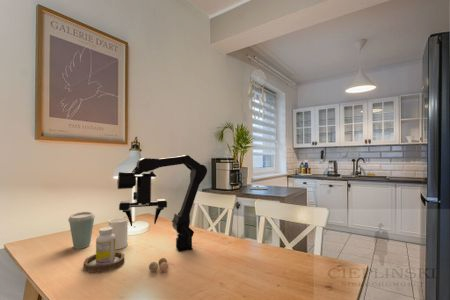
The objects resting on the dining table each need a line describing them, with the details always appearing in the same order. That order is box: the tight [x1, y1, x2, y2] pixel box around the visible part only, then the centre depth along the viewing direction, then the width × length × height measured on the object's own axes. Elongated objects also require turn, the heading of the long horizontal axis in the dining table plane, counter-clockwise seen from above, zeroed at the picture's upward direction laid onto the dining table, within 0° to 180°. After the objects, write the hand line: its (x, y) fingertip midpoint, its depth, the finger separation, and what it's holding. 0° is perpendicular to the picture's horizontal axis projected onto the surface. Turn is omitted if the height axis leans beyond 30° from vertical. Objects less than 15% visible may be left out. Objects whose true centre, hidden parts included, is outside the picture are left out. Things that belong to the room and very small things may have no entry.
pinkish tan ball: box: [158, 262, 169, 273], centre depth 86 cm, size 3×3×3 cm
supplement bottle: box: [95, 226, 116, 265], centre depth 92 cm, size 7×7×13 cm
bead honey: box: [157, 257, 168, 267], centre depth 90 cm, size 3×3×3 cm
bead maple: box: [148, 261, 159, 273], centre depth 86 cm, size 3×3×3 cm
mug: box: [108, 217, 129, 250], centre depth 109 cm, size 12×8×12 cm
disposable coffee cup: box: [67, 211, 95, 250], centre depth 110 cm, size 11×11×15 cm
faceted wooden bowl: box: [82, 250, 125, 274], centre depth 92 cm, size 14×14×2 cm
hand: (143, 225), depth 99 cm, fingers open, 9 cm apart
